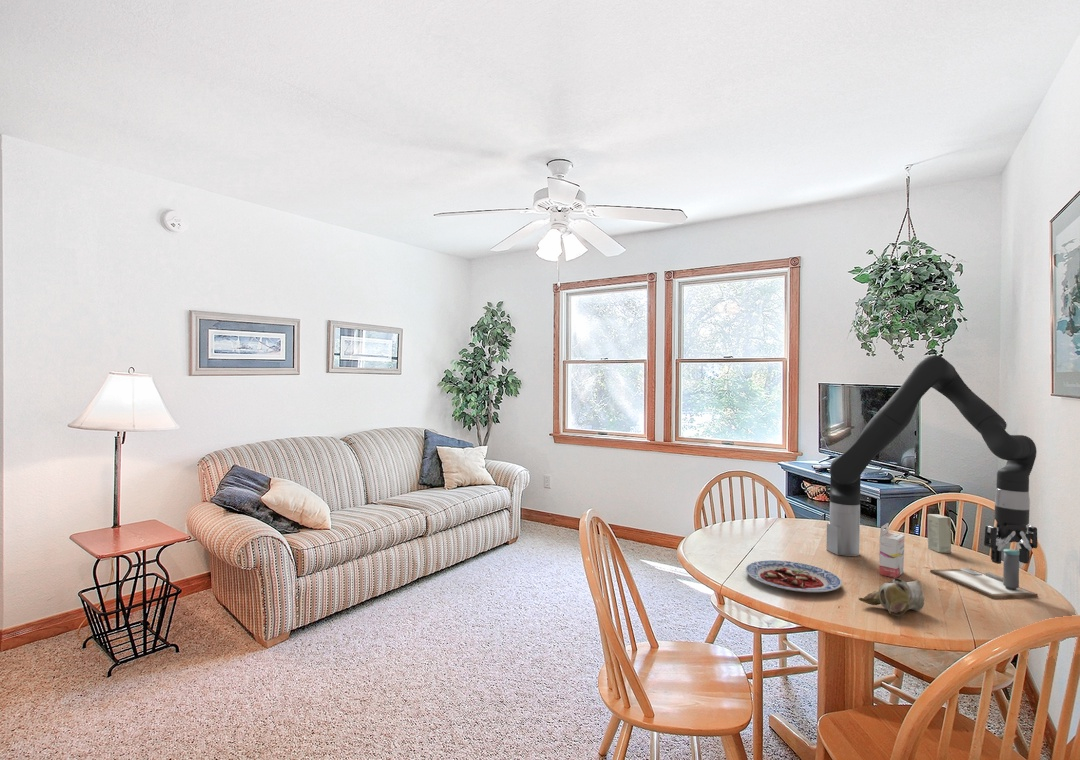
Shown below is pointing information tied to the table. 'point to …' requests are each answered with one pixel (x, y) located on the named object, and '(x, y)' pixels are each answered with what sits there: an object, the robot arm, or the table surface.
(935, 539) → the skincare box
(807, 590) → the ceramic plate
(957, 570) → the clipboard
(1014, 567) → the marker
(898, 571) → the ink cartridge box
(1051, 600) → the table surface
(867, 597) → the ceramic sculpture
